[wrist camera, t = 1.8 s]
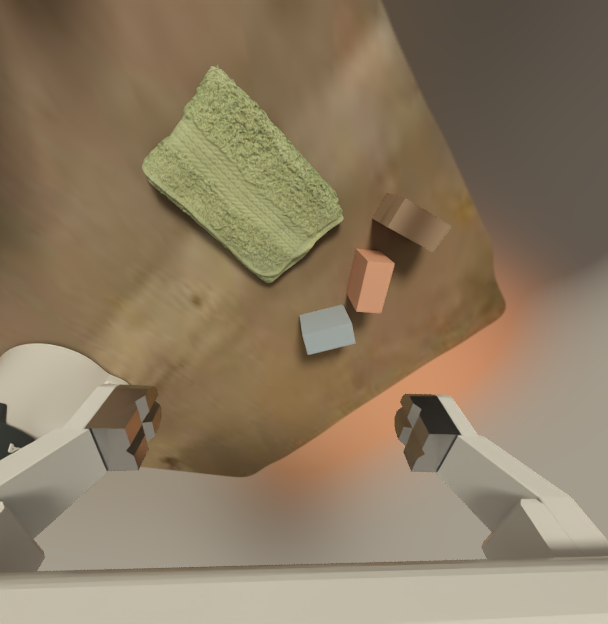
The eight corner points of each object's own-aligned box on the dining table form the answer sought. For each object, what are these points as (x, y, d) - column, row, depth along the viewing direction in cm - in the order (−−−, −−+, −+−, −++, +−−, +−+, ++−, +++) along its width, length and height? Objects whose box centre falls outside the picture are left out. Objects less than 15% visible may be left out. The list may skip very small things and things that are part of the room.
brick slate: (342, 304, 36) (351, 323, 32) (346, 322, 38) (355, 343, 34) (299, 315, 37) (302, 335, 32) (304, 333, 38) (307, 354, 34)
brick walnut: (427, 217, 32) (451, 226, 28) (412, 241, 33) (433, 252, 29) (386, 193, 30) (405, 198, 26) (372, 218, 32) (387, 227, 27)
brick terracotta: (368, 295, 36) (380, 313, 32) (346, 293, 36) (356, 311, 31) (379, 250, 33) (394, 263, 29) (355, 248, 33) (367, 261, 29)
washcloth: (270, 284, 35) (269, 295, 32) (141, 172, 28) (126, 173, 25) (348, 207, 31) (356, 212, 28) (224, 57, 24) (217, 42, 21)
